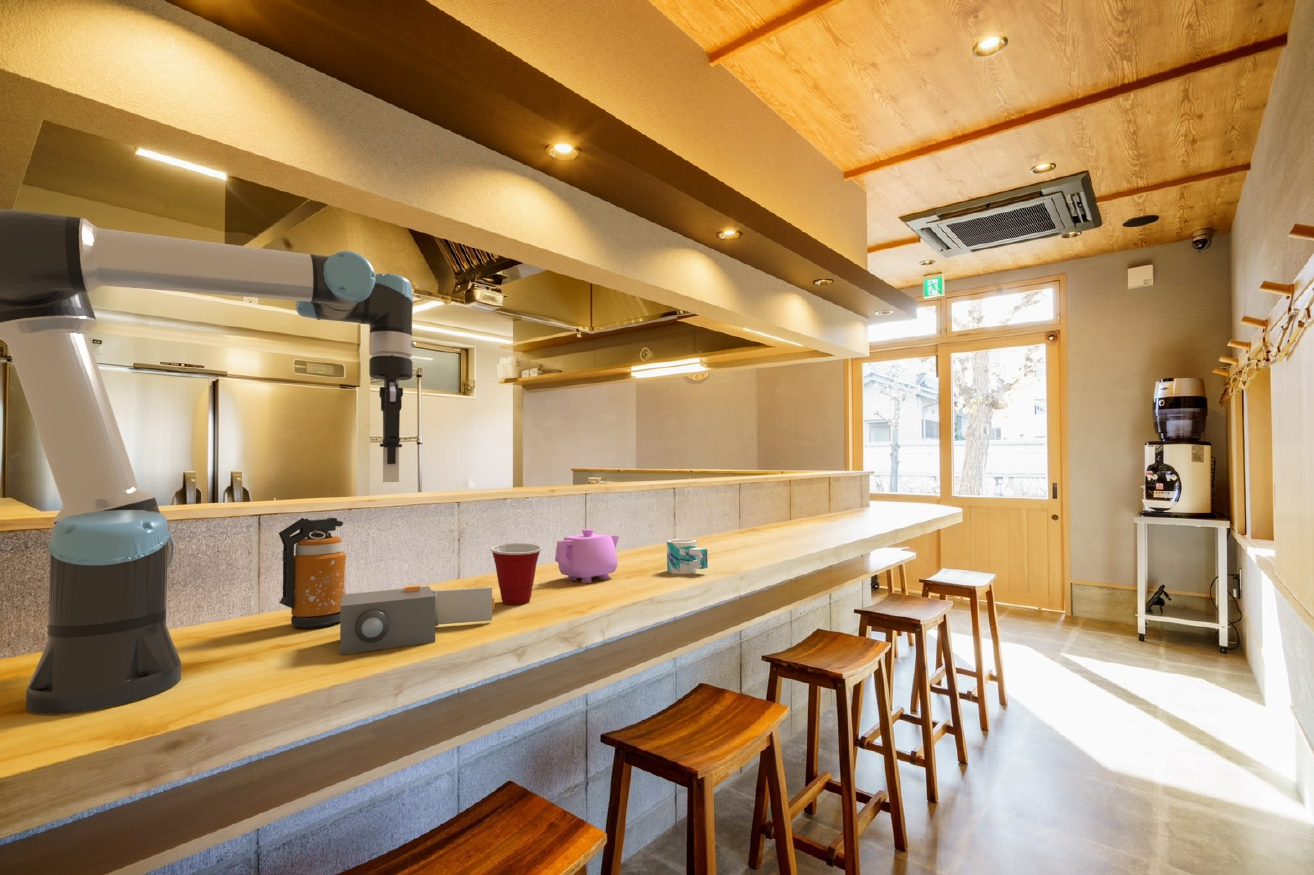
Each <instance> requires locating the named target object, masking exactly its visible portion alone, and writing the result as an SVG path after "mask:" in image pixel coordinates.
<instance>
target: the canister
mask: <svg viewBox="0 0 1314 875" xmlns="http://www.w3.org/2000/svg"><path fill="white" fill-rule="evenodd" d="M343 525H344V522H343V521H341V520H338V519H337V517H327V518H322V519H308V518H307V517H306V518H303V517H302V518H300V519H298V520H297V521H295V522H294V523H292V524H291V525H289V526H287V527H286V528H285V529H283V530H281V531H280V532H278V535H279V538H280V541H281V542H282V546H283V547H282V548H283V549H282V554H281V555H282V558H281V559H282V598H281V599H280V600H279V604H280V605H282V606H285V607H288V608H291V609H290V610H291V615H292V616H291V620H290V624H291V625H292V626H296V627H300V628H302V629H316V628H325V627H328V626H333V625H336V624H337V623H339V622H340V605H341V596H342V595H343V594H347V553H346V552H344V541H343V540H342V538H341V537H339V536H335V535H334V536H332V534H331V532H333V531H334V532H336V531H337V530H336V529H337V527H338V528H339V527H342V526H343Z"/></svg>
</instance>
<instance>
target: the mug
mask: <svg viewBox="0 0 1314 875" xmlns="http://www.w3.org/2000/svg"><path fill="white" fill-rule="evenodd" d="M666 564H667V565H666V567H667V568H666V569H667V570H666V572H667V573H668V572H669V574H671V573H672V574H674V575H690V574H694V573H695V572H696V573H697V572H698V570H705V569H708V549H707V548H699V547H698V543H697V539H692V538H674V539H668V540H667V541H666Z"/></svg>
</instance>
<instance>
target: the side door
mask: <svg viewBox="0 0 1314 875" xmlns="http://www.w3.org/2000/svg"><path fill="white" fill-rule="evenodd" d="M432 592H433V593H434V595H435V627H438V626H439V625H450V624H451V625H452V624H463V623H475V622H489V621H491V622H492V621H493V610H495V596H493V586H488V587H487V586H485V587H469V588H456V589H455V588H454V589H453V588H452V589H440V590H438V589H436V590H432Z"/></svg>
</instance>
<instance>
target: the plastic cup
mask: <svg viewBox="0 0 1314 875" xmlns="http://www.w3.org/2000/svg"><path fill="white" fill-rule="evenodd" d="M542 548H543V547H542V546H541V545H540V544H535V543H525V542H524V543H523V542H521V543H519V542H513V543H511V542H510V543H501V544H500V543H499V544H496V545H493V546H491V547H490V549H489V550H490V552H491V553H492V557H493V561H494V562H493V563H494V564H495V565H494V566H495V572H496V575H497V576H496V577H497V582H498V588H499V592H500V597H501V602H502V604H503V605H507V606H518V605H519V606H520V605H525V604H529V603H530V602H531V598H532V593H533V586H534V581H535V575H536V569H537V562H538V558H539V556H540V552H541V551H542V550H543V549H542Z"/></svg>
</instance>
